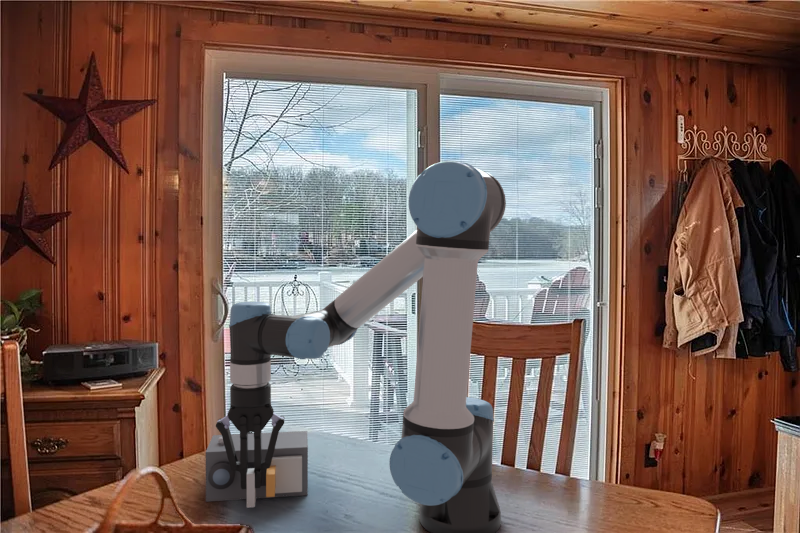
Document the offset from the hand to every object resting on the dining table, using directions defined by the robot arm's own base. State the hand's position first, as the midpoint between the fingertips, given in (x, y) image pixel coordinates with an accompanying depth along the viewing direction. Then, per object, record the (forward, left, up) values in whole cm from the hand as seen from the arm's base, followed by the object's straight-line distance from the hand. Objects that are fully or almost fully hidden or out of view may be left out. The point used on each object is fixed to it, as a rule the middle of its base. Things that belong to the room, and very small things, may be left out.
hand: (251, 504), depth 111 cm
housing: (+10, -1, -1) cm, 10 cm away
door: (+2, -6, 0) cm, 6 cm away
